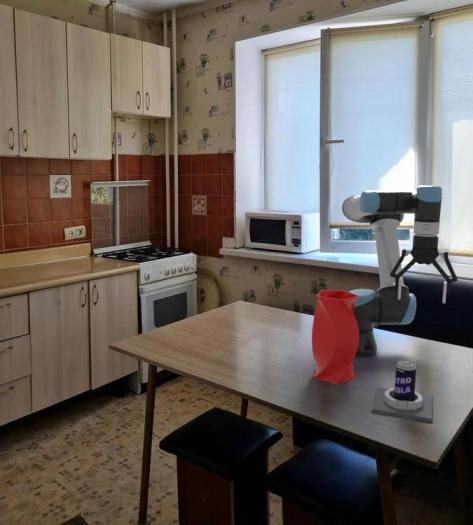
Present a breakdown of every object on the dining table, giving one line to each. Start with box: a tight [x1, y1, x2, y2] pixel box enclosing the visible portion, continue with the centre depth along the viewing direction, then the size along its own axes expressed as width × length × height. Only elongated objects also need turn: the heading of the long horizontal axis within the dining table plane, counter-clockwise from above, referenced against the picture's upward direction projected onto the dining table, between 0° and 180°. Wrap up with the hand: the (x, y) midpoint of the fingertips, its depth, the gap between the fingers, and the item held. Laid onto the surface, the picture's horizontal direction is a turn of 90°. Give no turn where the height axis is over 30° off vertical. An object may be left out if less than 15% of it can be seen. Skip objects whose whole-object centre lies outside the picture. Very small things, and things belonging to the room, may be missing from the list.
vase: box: [311, 289, 359, 385], centre depth 168 cm, size 15×14×28 cm
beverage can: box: [393, 359, 417, 402], centre depth 148 cm, size 6×6×12 cm
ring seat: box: [371, 386, 433, 423], centre depth 149 cm, size 16×16×3 cm
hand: (421, 300), depth 163 cm, fingers open, 13 cm apart
